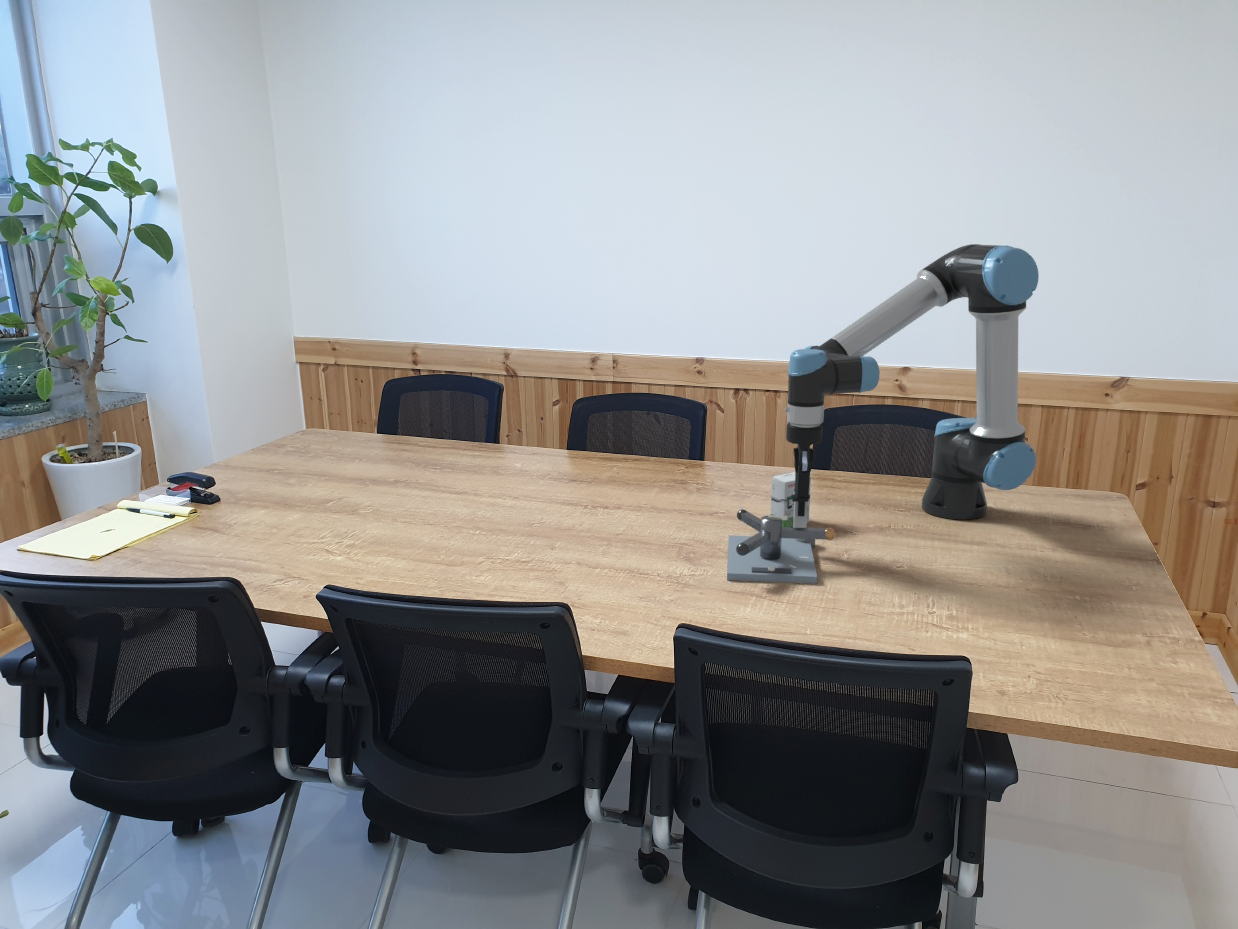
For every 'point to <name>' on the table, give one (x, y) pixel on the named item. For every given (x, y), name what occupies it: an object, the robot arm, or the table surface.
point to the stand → (773, 562)
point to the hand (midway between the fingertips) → (799, 528)
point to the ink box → (785, 498)
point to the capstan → (775, 534)
